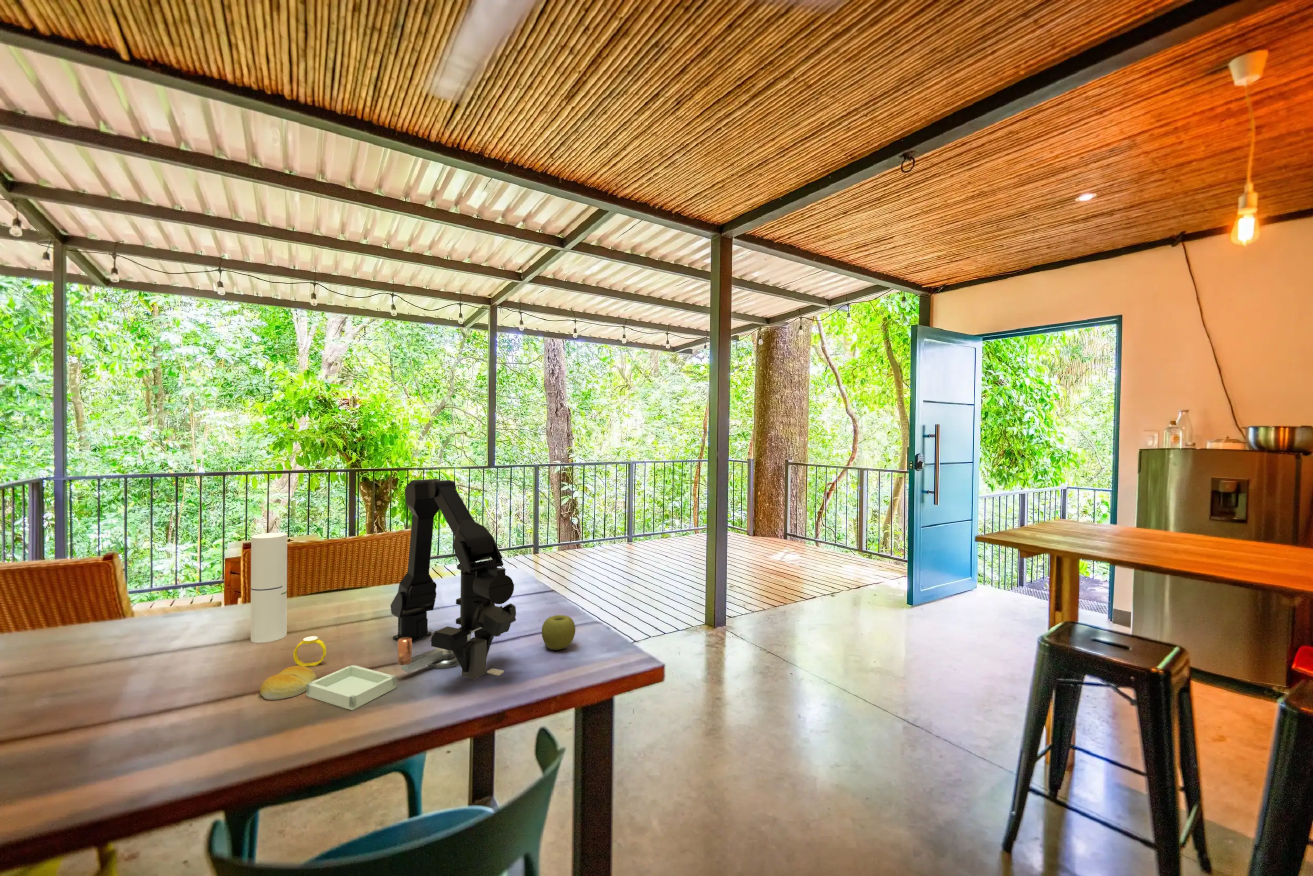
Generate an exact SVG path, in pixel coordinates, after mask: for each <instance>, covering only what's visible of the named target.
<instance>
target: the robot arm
mask: <svg viewBox="0 0 1313 876" xmlns="http://www.w3.org/2000/svg"><path fill="white" fill-rule="evenodd" d="M458 492H459V491H457V485H456V483H455V482H454V481H453V480H451V479H443V480H442V479H441V480H440V479H439V478H428V479H427V478H426V479H411V480H410V481H409V483H407V484H406V486H405V487H404V496H405V504H406V507H407V508H408V510H409V511H410V513H411V514H412V515H411V525H410V526H411V527H410V539H409V540H410V541H409V551H408V562H407V563H408V565H407V572H406V574H405V575H404V576H403V578H402V579H401V580H400V582H399V584H398V589H397V593H396V594H395V596H394V598H393V600H392V602H391V604H390V612H391V615H393V616H394V617H396V618H397V634H396V635H393V636H392V639H393V640H397V641H398V639H400V638H403V637H411V638H412V644H413V643H415V642H417V641H419V640H422V639H425V638H426V637H428V636H430V635H431V636H430V646H431V648H432V647H433V648H436V647H437V648H441V649H446V650H450V651H453V653H454V655H455V657H456V658H457V660H458V662H459V664H460V665H459V667H460V668H461V671H462V670H463V672H468V671H469V664H470V649H471V647H472V646H473V645H474V644H475V641H471V637H472V636H471V635H472V633H474V637H475V638H480V639H485V640H487V655H488V654H489V651H490V648H491V645H492V642H493V640H494V637H500V636H501V635H502V634H504V633H505V632H506V633H507V632H509V630H510V627H511V625H512V623H514V622H516V621H517V619H516V616H517V611H516V605H514V604H512V603H509V604H506V605H504V606H502V604H505V603H506V602H508V601H509V600H510V598H511V597H512V596H513V595H514V594H513V593H514V591H515V583H514V581H513V579H512V578H511V577H510V576H509V575H507V574H506V569H505V567H504V562H503V556H502V554H501V552H500V550H499V548H498V544H497V542H496V540H495V538H494V536H493V534H492V533H491V532H490V531H489V530H488V529H487V528H486V527H485V525H482V524H480V523H478V522H476V521H475V520H474V517H473V516H472V514H471V513H470V511H469V510H468V508H467V506H466V504H465V502H464V501H463V499H462V498H461V495H460V494H459V493H458ZM439 511H440V513H441V514H442V515H443V518H444V520H445V521H446V523H447V524H448V527H449V529H450V531H451V533H452V534H453V540H452V541H453V542H452V547H453V550H454V555H455V557H456V559H457V560H458V562H459V563H458V564H457V566H456V569H457V570H459V571H460V597H458V598H456V599H455V604H456V605H459V606H460V608H459V609H460V610H459V611H460V614H459V615H460V616H459V617H457V618H455V624H456V625H460V627H458V628H457V627H454V626H453V627H452V626H448V625H447V626H445V627H442V628H439V629H438V630H435V631H433V633H432V631H428V627H429V626H428V624H429V623H428V615H427V614H428V611H434V608H435V604H436V603H435V602H436V598H437V586H438V585H437V583H436V582H435V581H434V579H433V577H432V576H431V575H430V566H431V555H432V545H433V544H432V543H433V534H434V533H433V531H434V521H435V516H436V515H437V513H438V512H439ZM497 605H500V606H497Z"/></svg>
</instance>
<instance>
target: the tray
mask: <svg viewBox="0 0 1313 876" xmlns="http://www.w3.org/2000/svg"><path fill="white" fill-rule="evenodd" d="M396 688H397V676H396V675H393V674H388V673H385V672H382V671H377V670H374V669H371V668H367V667H366V668H365V667H363V666H360V665H356V664H350V665H348V666H346V667H343V668H341V669H339V670H337V671H334V672H332V673H330V674H327V675H325V676H322V677H321V678H316V680H315V681H313V682H310V683H308V684H306V691H305V692H306V693H305V694H306V695H305V696H306V697H308V698H311V699H314V700H318V701H320V702H324V703H327V704H331V705H333V706H337V707H340V708H343V709H346V710H350V711H354V710H356V709H357V708H360V707H362V706H364V705H366V704H368V703H369V702H371V701H373V700H375V699H377V698H379V697H381V696H382V695H384V694H387V693H389V692H391V691H392V690H395V689H396Z"/></svg>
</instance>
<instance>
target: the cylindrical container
mask: <svg viewBox="0 0 1313 876" xmlns="http://www.w3.org/2000/svg"><path fill="white" fill-rule="evenodd" d="M250 538H251V539H250V542H251V543H250V546H251V547H250V642H251V643H254V644H265V643H271V642H275V641H279V640H281V639H283V638H285V637H286V636H287V631H288V630H287V627H288V625H287V624H288V623H287V617H288V616H287V612H288V611H287V610H288V606H287V605H288V602H287V601H288V595H287V594H288V593H287V592H288V533H286V532H265V533H258V534H254V535H252V536H250Z"/></svg>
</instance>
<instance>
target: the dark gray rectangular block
mask: <svg viewBox="0 0 1313 876" xmlns="http://www.w3.org/2000/svg"><path fill="white" fill-rule="evenodd" d="M471 641H475V644H474V645H473V646H472V647H471V649H470V664H469V671H468V672H463V670H462V669H461V677H463V678H467V679H470V680H477V679H478V678H480V677H481V676H483V675H485V674H487V657H488V654H487V640H485V639H480V638H475V636H474V637H472V638H471Z"/></svg>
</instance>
